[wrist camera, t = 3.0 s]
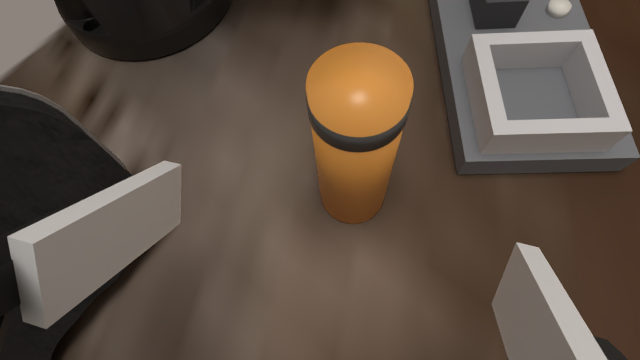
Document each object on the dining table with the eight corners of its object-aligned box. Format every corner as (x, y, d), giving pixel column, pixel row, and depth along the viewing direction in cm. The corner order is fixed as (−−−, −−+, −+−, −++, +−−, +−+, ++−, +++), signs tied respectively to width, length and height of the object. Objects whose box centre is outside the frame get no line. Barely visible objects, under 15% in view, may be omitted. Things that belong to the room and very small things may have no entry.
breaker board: (619, 171, 26) (688, 126, 21) (457, 174, 27) (485, 132, 21) (532, -71, 37) (564, -141, 32) (418, -65, 37) (430, -133, 32)
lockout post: (311, 176, 27) (290, 60, 16) (369, 156, 28) (387, 29, 17) (333, 233, 25) (327, 145, 14) (395, 210, 26) (434, 108, 15)
